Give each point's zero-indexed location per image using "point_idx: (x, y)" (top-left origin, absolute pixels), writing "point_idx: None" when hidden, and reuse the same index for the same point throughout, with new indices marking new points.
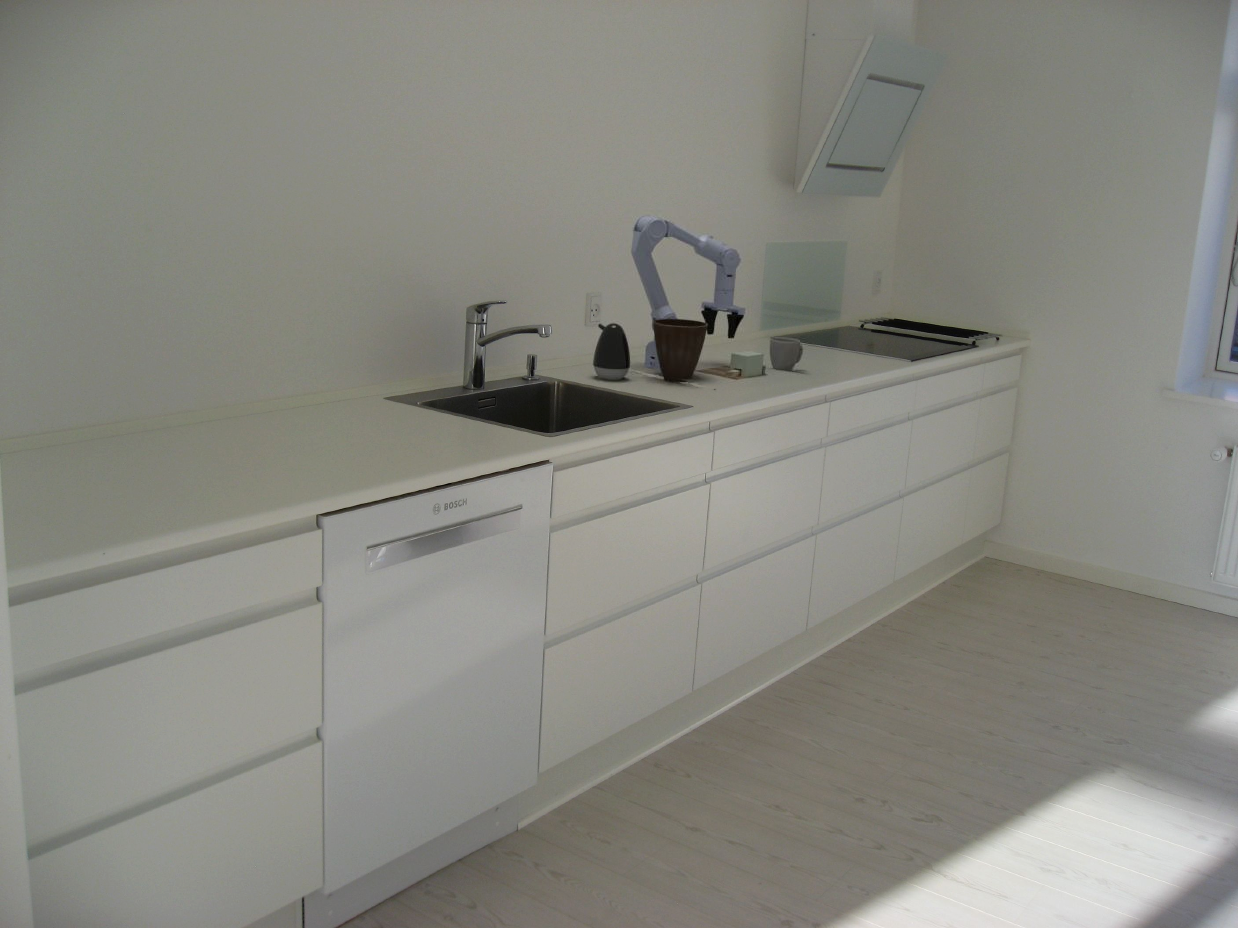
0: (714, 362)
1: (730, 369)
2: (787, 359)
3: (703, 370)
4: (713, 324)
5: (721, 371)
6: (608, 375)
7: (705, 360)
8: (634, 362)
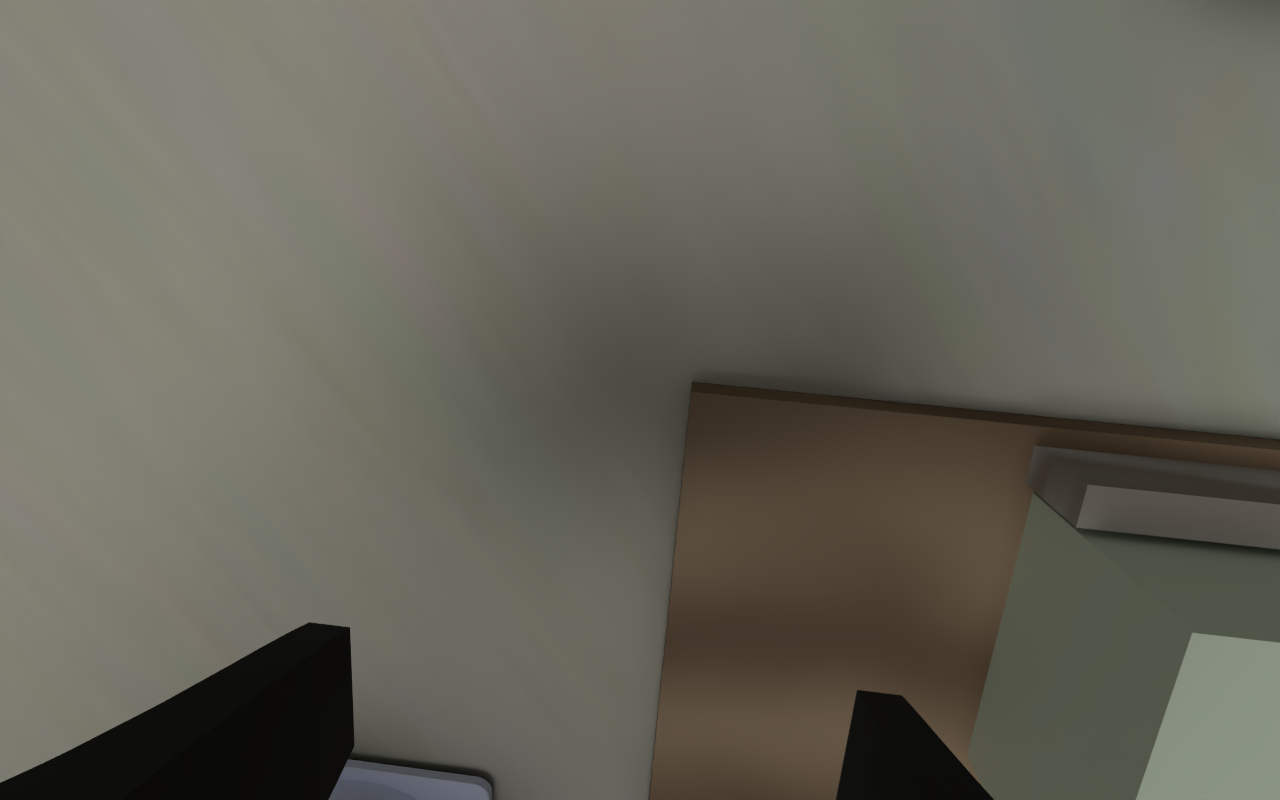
0: (336, 74)
1: (991, 793)
2: None
3: (690, 789)
4: (194, 791)
5: (837, 703)
6: None
7: (192, 53)
8: (15, 768)
